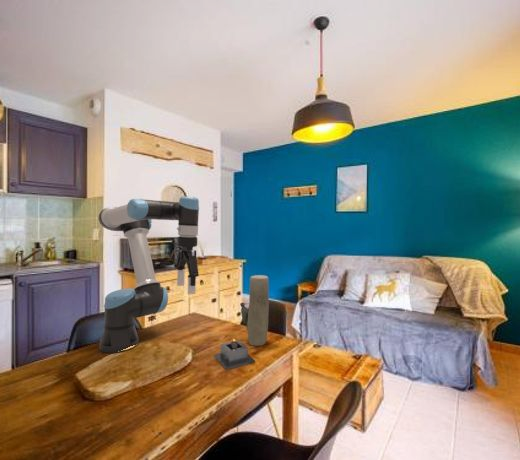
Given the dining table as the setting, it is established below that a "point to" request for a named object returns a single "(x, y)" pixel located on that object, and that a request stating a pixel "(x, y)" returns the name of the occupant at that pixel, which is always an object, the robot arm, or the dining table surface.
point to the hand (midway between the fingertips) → (185, 289)
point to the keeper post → (236, 364)
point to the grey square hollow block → (234, 352)
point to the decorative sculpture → (257, 310)
